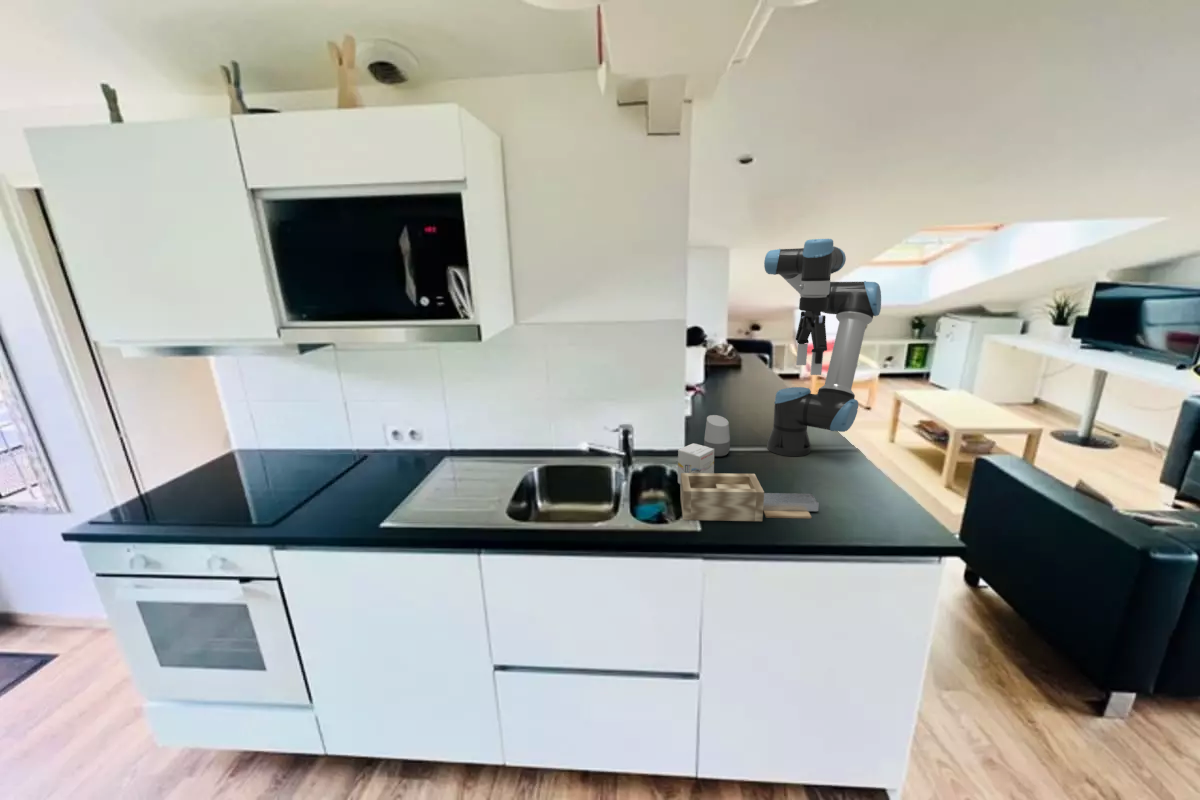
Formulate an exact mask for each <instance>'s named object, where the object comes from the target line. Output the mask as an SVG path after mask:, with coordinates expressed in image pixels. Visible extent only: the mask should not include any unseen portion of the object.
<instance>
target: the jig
mask: <svg viewBox="0 0 1200 800" xmlns="http://www.w3.org/2000/svg"><path fill="white" fill-rule="evenodd" d="M758 479H759V478H757V475H756V474H755V473H727V472H726V473H725V472H724V473H718V472H717V473H715V472H714V473H681V484H680V506H681V514H682V520H683V521H722V522H724V521H726V522H727V521H728V522H729V521H730V522H731V521H732V522H763V518H764V512H763V504H764V493H765V491H764V489H763V487H762V486H761V483H760V480H758Z"/></svg>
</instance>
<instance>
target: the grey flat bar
mask: <svg viewBox="0 0 1200 800" xmlns="http://www.w3.org/2000/svg"><path fill="white" fill-rule="evenodd" d="M819 504H820V503H819V501H818V500H817V499H816V498H815V496H814V495H813V493H798V492H797V493H795V492H794V493H790V492H789V493H788V492H787V493H785V492H780V493H779V492H774V493H773V492H764V504H763V510H767V511H808V512H819V506H820V505H819Z"/></svg>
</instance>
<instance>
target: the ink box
mask: <svg viewBox="0 0 1200 800" xmlns="http://www.w3.org/2000/svg"><path fill="white" fill-rule="evenodd" d="M677 451H678V452H677V454H678V455H677V483H678V484H679V485H681V473H715V457H714V449H713V448H709V447H706V446H704V445H702V444H698V443H691V444H688V445H686V446H684V447H681V448H679V449H678V450H677Z"/></svg>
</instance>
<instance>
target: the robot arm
mask: <svg viewBox="0 0 1200 800" xmlns="http://www.w3.org/2000/svg"><path fill="white" fill-rule="evenodd" d="M846 257H847V256H846V254H845V252H844V250H843V249H842V248H839V247H837V246H834V240H833V239H832V238H813V239H807V240H806V241H805V242H804V244H803V247H802V248H779V249H770V250H768V251H767V253H766V254H765V257H764V262H763V263H764V265H763V268H764V272H765V273H766V274H767V275H779V276H781V277H782V278H783V279H784V280H785V281H786V282H787V283H788V284H789V285H790V286H791V287H792V288H793V289H794V290H795V291H796V292H797V293H798V294H799V296H800V298H799V305H798V309H799V310H800V311H801V312H800V319H799V323H798V328H797V332H796V336H795V341H797V342H796V343H797V347H796V348H797V351H796V360H795V361H796V363H795V365H796V366H807V359H808V357H807V356H808V346H809V345H808V344H809V337H810V335H811V340H812V347H813V348H812V349H811V351H810V352H811V363H810V364H811V365H810V374H809V375H811V376H821V375H822V372H823V360H824V353H825V352H827V351H828V343H827V341H828V340H827V332H826V318H827V317H826V315H823V314H822V313H824V314H829V315H836V316H835V318H836V320H837V321H838V322H839V323H838V326H837V331H836V334H835V339H834V343H833V347H832V351H831V356H830V360H829V364H828V368H827V369H828V370H827V373H826V377H825V381H824V385H823V386H820V387H819V388H818V389H817V393H811V389H810V388H809V387H803V386H798V387H797V386H796V387H795V386H793V387H786V388H782V389H779V390H778V391H777V392H776V393H775V396H774V397H775V398H774V399H775V401H774V408H773V427H772V430H771V433H770V434H769V437H768V440H767V443H766V449H767V450H768V451H769V452H771V453H774V454H776V455H780V456H785V457H804V456H806V455H809V454H810V453H811V449H812V448H811V446H812V444H811V440H810V438H809V433H808V427H811V428H817V429H822V430H828V431H830V432H841V433H844V432H847V431H848V430H850V429H851V427H852V425H853V424H854V422H855V420H856V417H857V414H858V408H859V401H858V400H857V399H855V396H856V395H855V393H854V392H853V390H852V387H853V383H854V379H855V374H856V371H857V366H858V361H859V358H860V354H861V350H862V345H863V341H864V338H865V337H864V336H865V331H866V328H867V325H869V324H871V323H872V321H873V320H874V319H873V318H874V317H877V316H880V313H881V309H882V291H881V287H880V285H879V283H878V282H875V281H866V280H863V281H831V275H832V274H834V273H838V272H839V271H840V270H841V269H843V267H844V266H845V264H846V260H847V258H846Z"/></svg>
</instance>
